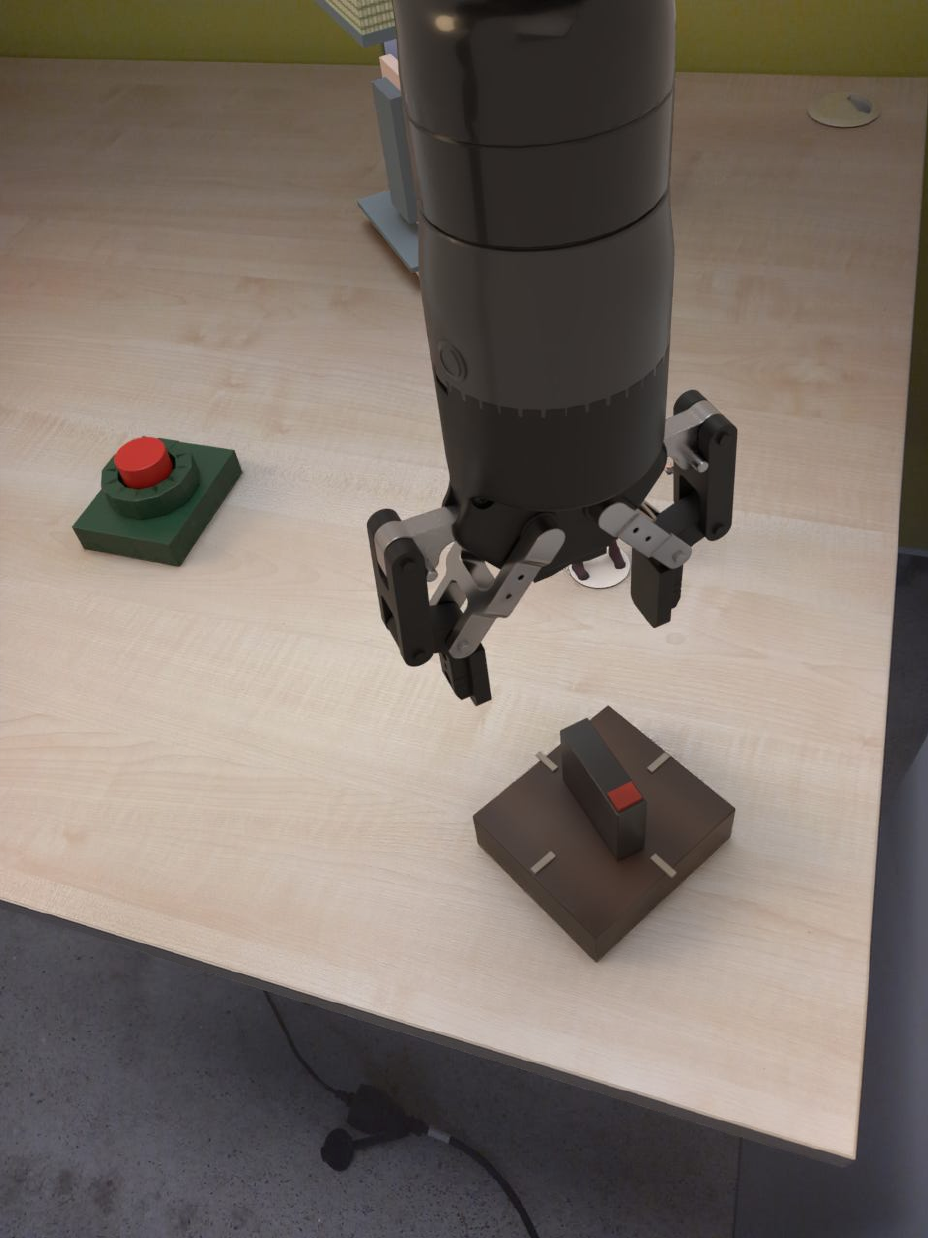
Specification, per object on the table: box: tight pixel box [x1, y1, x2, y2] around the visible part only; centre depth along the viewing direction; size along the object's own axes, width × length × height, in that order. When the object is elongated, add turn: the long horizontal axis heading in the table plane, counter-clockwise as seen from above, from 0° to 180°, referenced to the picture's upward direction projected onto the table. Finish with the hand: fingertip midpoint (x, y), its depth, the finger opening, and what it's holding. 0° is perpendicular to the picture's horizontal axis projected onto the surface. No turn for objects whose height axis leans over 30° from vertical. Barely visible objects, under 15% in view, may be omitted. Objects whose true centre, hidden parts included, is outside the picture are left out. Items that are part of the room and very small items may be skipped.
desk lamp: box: [313, 0, 419, 277], centre depth 84 cm, size 18×14×33 cm
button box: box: [71, 435, 243, 567], centre depth 74 cm, size 10×8×4 cm
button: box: [114, 436, 173, 489], centre depth 72 cm, size 4×4×2 cm
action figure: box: [568, 461, 673, 589], centre depth 64 cm, size 12×3×9 cm, turn 107°
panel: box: [471, 705, 737, 963], centre depth 53 cm, size 10×10×3 cm
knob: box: [559, 717, 647, 861], centre depth 50 cm, size 6×2×5 cm, turn 26°
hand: (563, 650), depth 44 cm, fingers open, 8 cm apart
